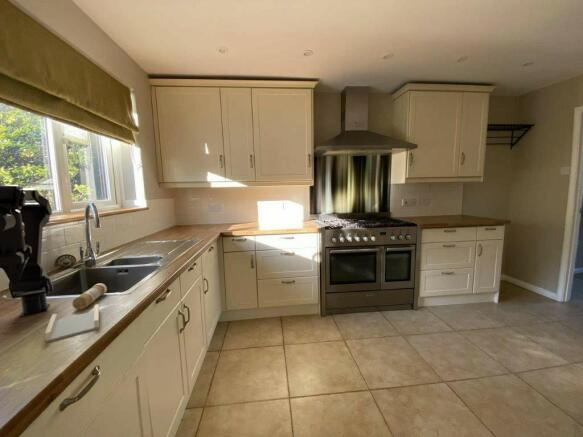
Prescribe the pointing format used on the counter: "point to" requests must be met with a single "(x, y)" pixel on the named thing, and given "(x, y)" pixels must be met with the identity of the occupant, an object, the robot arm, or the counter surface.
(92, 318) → the cradle board
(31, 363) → the counter surface
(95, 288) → the sprinkles bottle
